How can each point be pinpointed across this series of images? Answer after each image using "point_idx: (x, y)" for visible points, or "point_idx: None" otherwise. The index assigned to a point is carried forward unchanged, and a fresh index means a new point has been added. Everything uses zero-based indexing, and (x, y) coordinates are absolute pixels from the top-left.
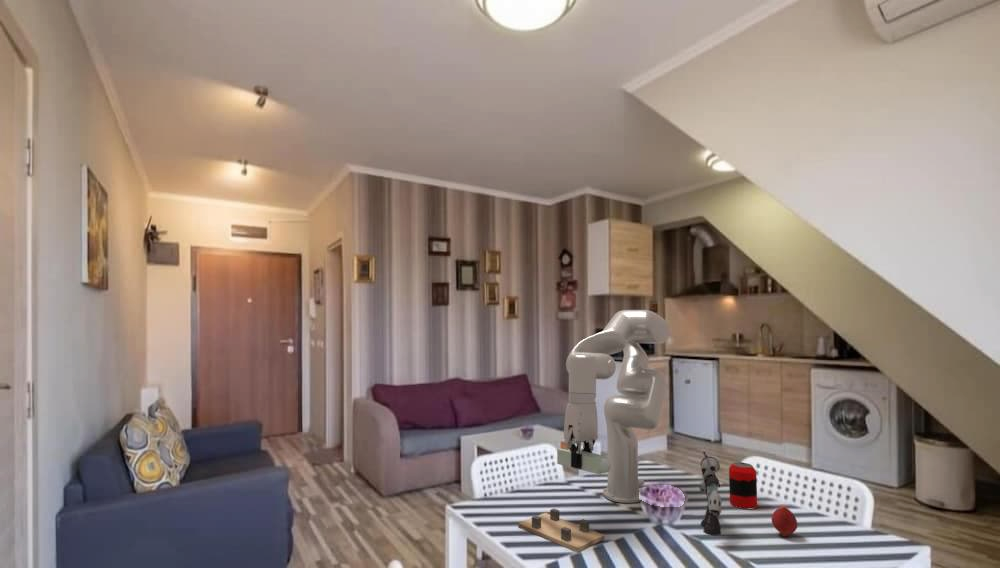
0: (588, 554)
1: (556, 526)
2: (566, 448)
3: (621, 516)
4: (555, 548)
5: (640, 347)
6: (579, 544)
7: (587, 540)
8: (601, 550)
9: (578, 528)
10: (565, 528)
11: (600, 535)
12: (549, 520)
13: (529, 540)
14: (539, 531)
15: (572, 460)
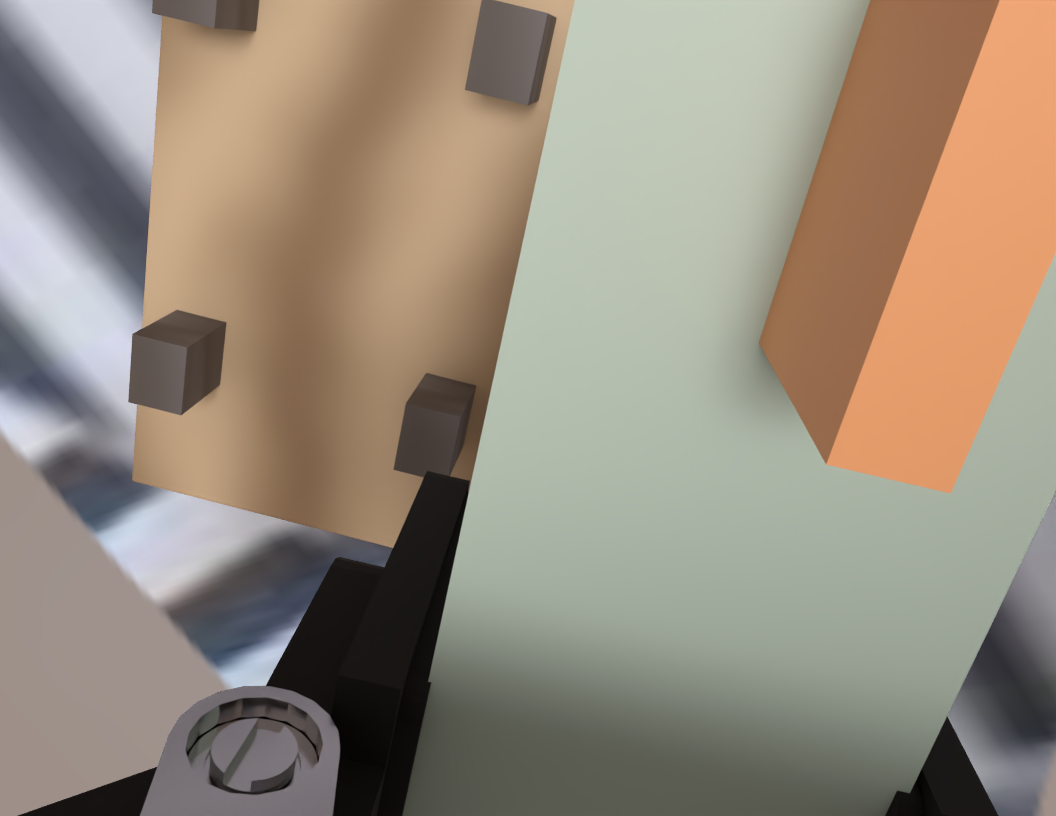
0: (175, 536)
1: (372, 155)
2: (776, 317)
3: None
4: (86, 304)
5: None
6: (191, 470)
7: (290, 496)
8: (288, 588)
9: (457, 351)
10: (160, 367)
11: None
12: (459, 16)
13: (46, 40)
14: (167, 68)
15: (313, 615)
